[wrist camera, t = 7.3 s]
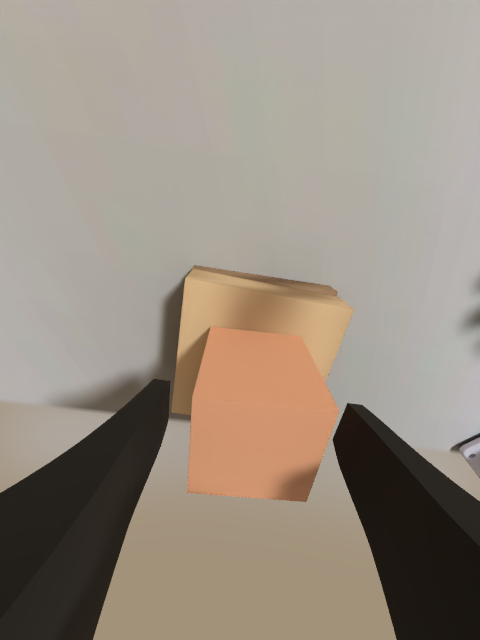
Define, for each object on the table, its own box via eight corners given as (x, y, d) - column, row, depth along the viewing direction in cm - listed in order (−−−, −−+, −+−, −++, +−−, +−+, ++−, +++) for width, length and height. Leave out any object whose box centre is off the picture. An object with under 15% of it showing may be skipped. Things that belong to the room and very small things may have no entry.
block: (301, 336, 12) (339, 411, 7) (284, 406, 14) (306, 501, 9) (210, 326, 12) (192, 397, 7) (205, 399, 14) (187, 493, 9)
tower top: (338, 296, 13) (354, 309, 12) (297, 408, 16) (304, 432, 15) (193, 269, 13) (185, 277, 11) (179, 389, 16) (171, 412, 14)
